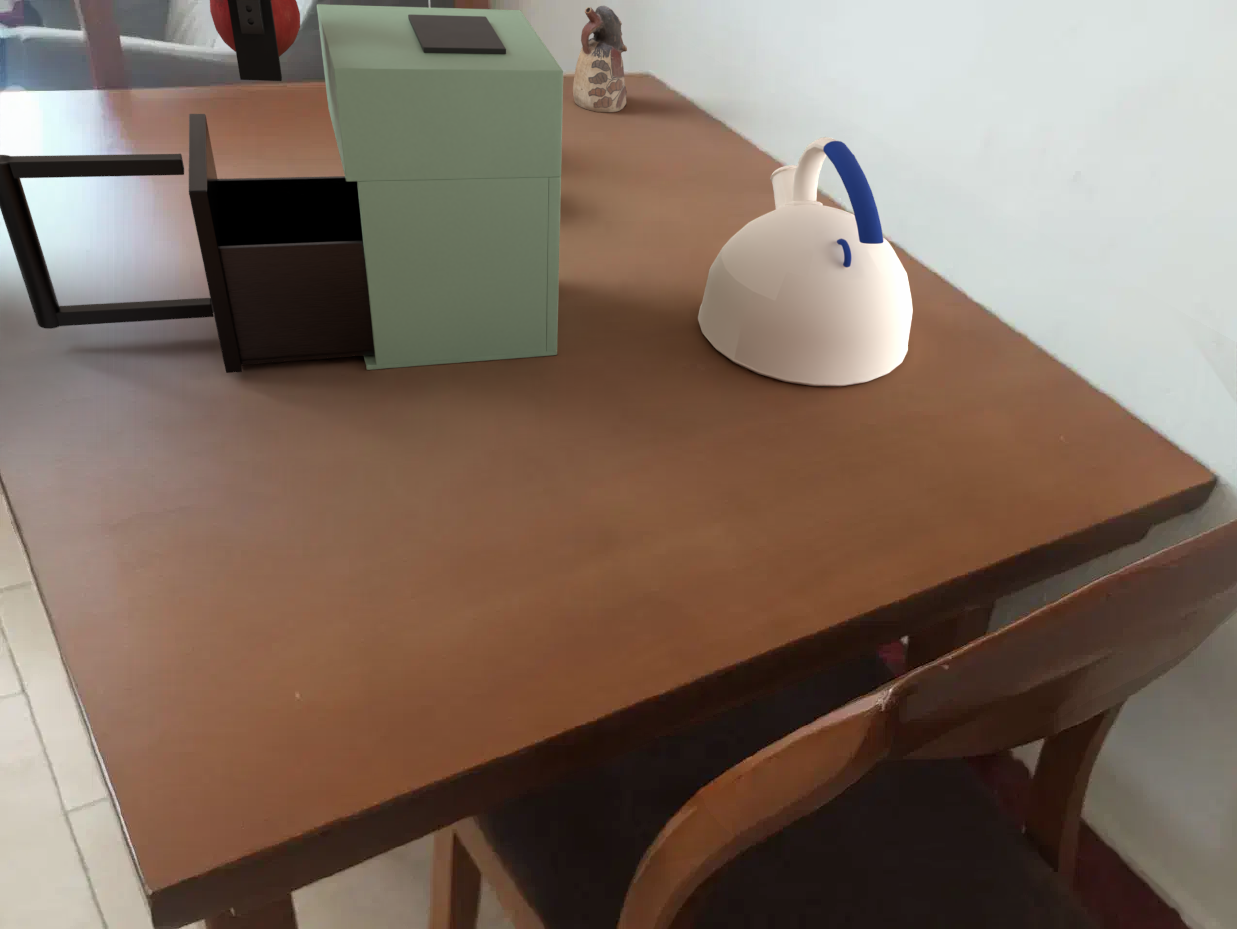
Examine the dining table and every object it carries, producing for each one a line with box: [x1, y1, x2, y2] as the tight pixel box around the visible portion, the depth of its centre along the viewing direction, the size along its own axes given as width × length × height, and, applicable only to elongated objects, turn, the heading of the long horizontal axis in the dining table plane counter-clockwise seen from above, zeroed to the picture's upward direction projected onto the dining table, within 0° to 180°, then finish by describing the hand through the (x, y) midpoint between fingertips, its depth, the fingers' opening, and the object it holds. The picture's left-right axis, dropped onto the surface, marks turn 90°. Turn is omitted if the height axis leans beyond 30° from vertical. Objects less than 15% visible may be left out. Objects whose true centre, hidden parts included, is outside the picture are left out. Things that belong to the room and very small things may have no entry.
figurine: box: [572, 5, 628, 113], centre depth 141 cm, size 7×7×12 cm
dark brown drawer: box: [0, 113, 375, 374], centre depth 86 cm, size 28×15×15 cm, turn 110°
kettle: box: [697, 136, 914, 387], centre depth 98 cm, size 20×21×18 cm
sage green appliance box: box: [316, 3, 564, 371], centre depth 89 cm, size 16×15×24 cm
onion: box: [209, 0, 301, 58], centre depth 77 cm, size 6×6×8 cm
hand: (263, 62), depth 79 cm, fingers closed on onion, 6 cm apart
